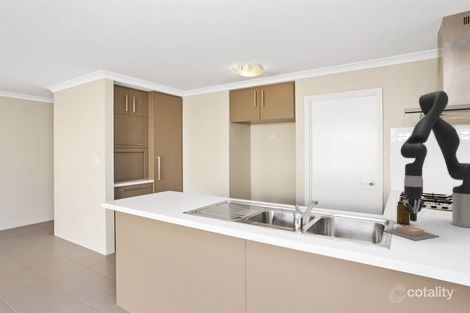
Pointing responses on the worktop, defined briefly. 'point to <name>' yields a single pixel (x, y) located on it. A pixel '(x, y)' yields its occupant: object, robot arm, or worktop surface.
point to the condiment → (403, 215)
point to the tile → (410, 230)
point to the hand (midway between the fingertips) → (413, 221)
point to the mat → (415, 238)
